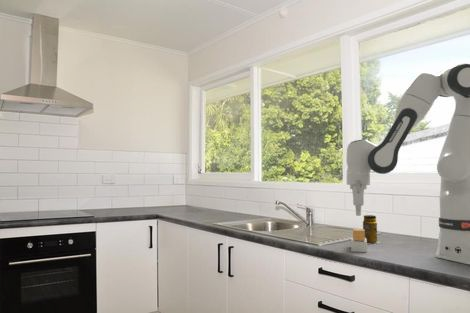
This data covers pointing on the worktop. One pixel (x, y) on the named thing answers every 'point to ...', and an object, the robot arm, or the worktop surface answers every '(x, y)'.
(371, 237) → the condiment
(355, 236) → the orange wooden cube
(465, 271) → the worktop surface
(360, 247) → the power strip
